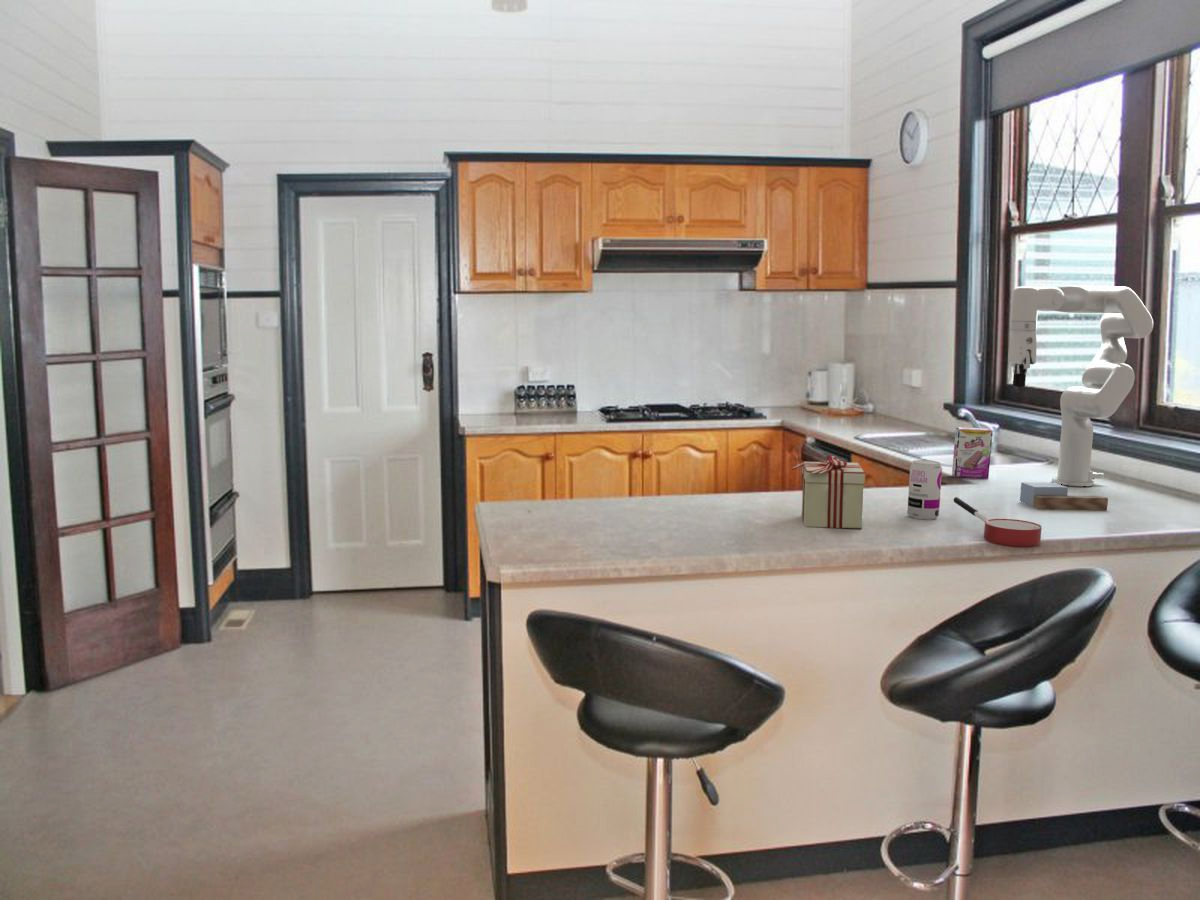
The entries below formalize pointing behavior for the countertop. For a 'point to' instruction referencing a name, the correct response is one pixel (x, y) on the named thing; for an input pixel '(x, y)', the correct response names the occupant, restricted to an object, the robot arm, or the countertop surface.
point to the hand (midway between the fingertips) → (1018, 386)
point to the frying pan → (1007, 529)
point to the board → (1070, 502)
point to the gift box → (832, 494)
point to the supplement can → (924, 489)
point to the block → (1040, 490)
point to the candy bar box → (972, 453)
